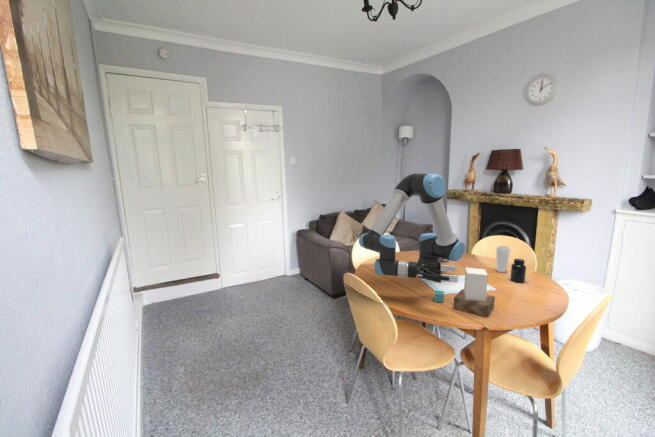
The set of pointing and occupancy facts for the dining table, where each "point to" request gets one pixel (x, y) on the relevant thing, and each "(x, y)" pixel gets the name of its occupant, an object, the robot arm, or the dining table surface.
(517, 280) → the supplement bottle
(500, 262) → the drinking glass
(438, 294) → the teal cube
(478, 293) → the upright white rectangular block
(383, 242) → the robot arm
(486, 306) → the walnut stand
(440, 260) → the pocket watch
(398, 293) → the dining table surface
